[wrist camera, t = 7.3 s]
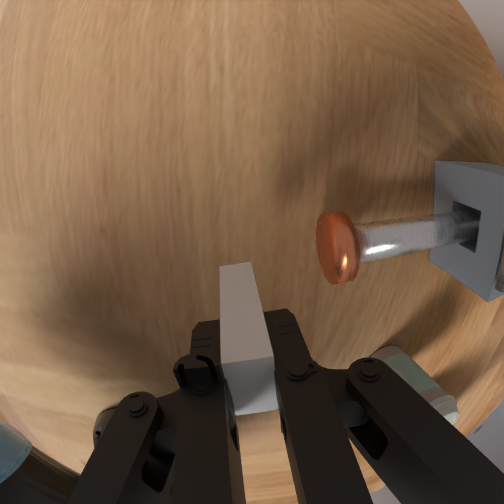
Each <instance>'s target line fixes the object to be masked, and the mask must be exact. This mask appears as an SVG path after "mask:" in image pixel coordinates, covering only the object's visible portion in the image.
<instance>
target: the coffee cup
mask: <svg viewBox="0 0 504 504" xmlns="http://www.w3.org/2000/svg"><path fill="white" fill-rule="evenodd" d="M371 357H372V358H376V359H380V360H381V361H383V362H385V363H386V364H387V365H388V366H389V367H390V368H392V369H393V370H394V371H395V372H396V373H397V374H398V375H399V376H400V377H401V378H402V379H403V380H405V381H406V382H407V383H408V384H409V385H410V386H411V387H412V388H413V389H414V390H415V391H416V392H418V393H419V394H420V395H421V396H422V397H423V398H424V399H425V400H426V401H427V402H428V403H429V404H430V405H432V406H433V407H434V408H435V409H436V410H437V411H438V412H439V413H440V414H441V415H442V416H443V417H444V418H445V419H446V420H448V421H449V422H450V423H451V424H452V425H454V424H455V422H456V421H457V419H458V417H459V412H458V409H457V402H456V400H455V398H454V396H453V395H448V394H447V393H446V392H445V391H444V390H443V389H442V388H441V387H440V386H439V385H438V384H437V383H436V382H435V381H434V380H433V379H432V378H431V377H430V376H429V375H428V374H427V373H426V372H425V371H424V370H423V369H422V368H421V367H420V366H419V365H418V364H417V363H416V362H415V361H414V360H413V359H412V358H411V357H409V356H408V355H407V354H406V353H405V352H404V351H403V350H402V349H401V348H400V347H398V346H394V345H392V346H387V347H384V348H382V349H380V350H378V351H376V352H375V353H374V354H372V355H371V356H370V357H369V358H371Z"/></svg>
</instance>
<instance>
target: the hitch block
mask: <svg viewBox="0 0 504 504" xmlns="http://www.w3.org/2000/svg"><path fill="white" fill-rule="evenodd" d="M472 209H477V210H480V211H481V218H480V226H479V234H478V239H475V240H471V241H466V242H462V243H457V244H453V245H448V246H444V247H439V248H435V249H430V253H429V260H430V261H431V262H433V263H434V264H436V265H437V266H439V267H440V268H442V269H443V270H444V271H446V272H447V273H449V274H450V275H452V276H453V277H454V278H456V279H457V280H459V281H460V282H461V283H463V284H464V285H465V286H467V287H468V288H469V289H471V290H472V291H473V292H475V293H476V294H477V295H479V296H480V297H481V298H483V299H484V300H485V301H487V302H489V301H491V300H493V299H495V298H497V297H499V296H501V295H503V294H504V293H503V292H499V291H497V290H496V289H495V284H496V280H497V276H498V272H499V268H500V263H501V259H502V254H503V249H504V166H500V165H496V164H492V163H481V162H465V161H441V160H435V186H434V210H433V214H440V213H448V212H456V211H464V210H472Z"/></svg>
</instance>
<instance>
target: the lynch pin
mask: <svg viewBox="0 0 504 504" xmlns="http://www.w3.org/2000/svg"><path fill="white" fill-rule="evenodd" d="M480 218H481V211H480V210H477V209H472V210H464V211H456V212H448V213H440V214H432V215H424V216H417V217H409V218H401V219H394V220H386V221H379V222H371V223H364V224H357V225H353V223H352V221H351V219H350V218H349V216H348V215H347V214H346V213H344V212H342V211H338V212H330V213H323V214H321V215H320V216H319V218H318V221H317V227H316V242H317V250H318V256H319V260H320V264H321V267H322V270H323V273H324V275H325V277H326V279H327V280H328V282H329V283H331V284H339V283H344V282H349V281H353V280H354V279H355V278H356V276H357V273H358V270H359V264H361V263H366V262H371V261H377V260H382V259H387V258H392V257H397V256H402V255H406V254H411V253H416V252H421V251H426V250H430V249H435V248H439V247H444V246H448V245H453V244H457V243H462V242H466V241H471V240H475V239H478V234H479V226H480Z"/></svg>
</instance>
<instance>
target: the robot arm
mask: <svg viewBox="0 0 504 504" xmlns="http://www.w3.org/2000/svg"><path fill="white" fill-rule="evenodd" d="M191 340H192V341H191V349H190V354H188V355H186V356H184V357H182V358H180V359H179V360H178V361H177V362H176V363H175V365H174V368H173V372H174V374H175V377H176V379H177V381H178V383H179V386H180V389H179V390H177V391H176V392H174V393H172V394H169V395H166V396H163V397H159V398H155V397H154V396H153V395H152V394H149V393H147V392H135V393H131V394H129V395H128V396H126V397H125V398H123V400H122V401H121V402H120V403H119V405H118V407H117V408H114V409H109V410H106V411H104V412H102V413H101V414H100V415H99V416H98V417H97V419H96V422H95V426H94V429H93V441H94V451H93V452H92V454H91V456H90V458H89V460H88V462H87V464H86V466H85V468H84V470H83V472H82V473H81V474H79V473H77V472H75V471H73V470H72V469H70V468H68V467H66V466H64V465H63V464H61V463H59V462H58V461H56V460H54V459H53V458H51V457H49V456H48V455H46V454H45V453H43V452H41V451H40V450H38V449H37V448H35V447H34V446H33V445H32V444H31V442H30V441H28V440H27V439H23V438H21V437H20V436H18V435H17V434H15V433H14V432H12V431H11V430H10V429H8V428H7V427H5V426H4V425H3V424H1V423H0V504H246V500H245V491H244V483H243V474H242V465H241V455H240V446H239V436H238V428H237V425H236V422H235V415H236V416H238V415H246V414H253V413H260V412H266V411H272V410H278V409H279V412H280V420H281V431H282V433H283V435H284V440H285V444H286V449H287V453H288V458H289V463H290V467H291V472H292V476H293V481H294V485H295V490H296V494H297V498H298V503H299V504H373V502H372V499H371V496H370V494H369V491H368V488H367V486H366V483H365V480H364V478H363V475H362V472H361V470H360V467H359V464H358V462H357V459H356V457H355V454H354V451H353V449H352V446H351V444H350V441H349V439H350V440H351V441H352V443H353V444H354V445H355V447H356V448H357V449H358V450H359V452H360V453H361V454H362V456H363V457H364V458H365V459H366V461H367V462H368V463H369V464H370V466H371V467H372V468H373V469H374V471H375V472H376V473H377V475H378V476H379V477H380V478H381V479H382V481H383V482H384V483H385V484H386V486H387V487H388V488H389V489H390V491H391V492H392V493H393V494H394V495H395V497H396V498H397V499H398V500H399V502H400V503H401V504H504V474H503V473H502V472H501V471H500V470H499V469H498V468H497V467H496V466H495V465H494V464H493V463H492V462H491V461H490V460H489V459H488V458H487V457H486V456H484V454H482V453H481V452H480V451H479V450H478V449H477V448H476V447H475V446H474V445H473V444H472V443H471V442H470V441H469V440H468V439H467V438H466V437H465V436H464V435H462V434H461V433H460V432H459V431H458V430H457V429H456V428H455V427H454V426H453V425H452V424H451V423H450V422H449V421H448V420H446V419H445V418H444V417H443V416H442V415H441V414H440V413H439V412H438V411H437V410H436V409H435V408H434V407H433V406H432V405H430V404H429V403H428V402H427V401H426V400H425V399H424V398H423V397H422V396H421V395H420V394H419V393H418V392H416V391H415V390H414V389H413V388H412V387H411V386H410V385H409V384H408V383H407V382H406V381H405V380H403V379H402V378H401V377H400V376H399V375H398V374H397V373H396V372H395V371H394V370H393V369H392V368H390V367H389V366H388V365H387V364H386V363H385V362H383V361H381V360H380V359H376V358H372V357H371V358H362V359H358V360H356V361H355V362H353V363H352V364H351V365H350V367H349V369H327V368H324V367H321V366H319V365H318V364H317V363H316V362H315V361H313V359H312V358H311V356H310V353H309V351H308V348H307V346H306V343H305V341H304V338H303V336H302V333H301V332H300V328H299V326H298V324H297V321H296V318H295V316H294V314H292V313H291V312H290V311H289V310H287V309H280V310H274V311H268V312H263V310H262V306H261V302H260V298H259V294H258V290H257V286H256V282H255V277H254V273H253V269H252V265H251V262H245V263H239V264H232V265H225V266H220V320H213V321H205V322H198V324H197V325H196V326H195V328H194V329H193V331H192V339H191ZM348 437H349V438H348Z"/></svg>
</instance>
